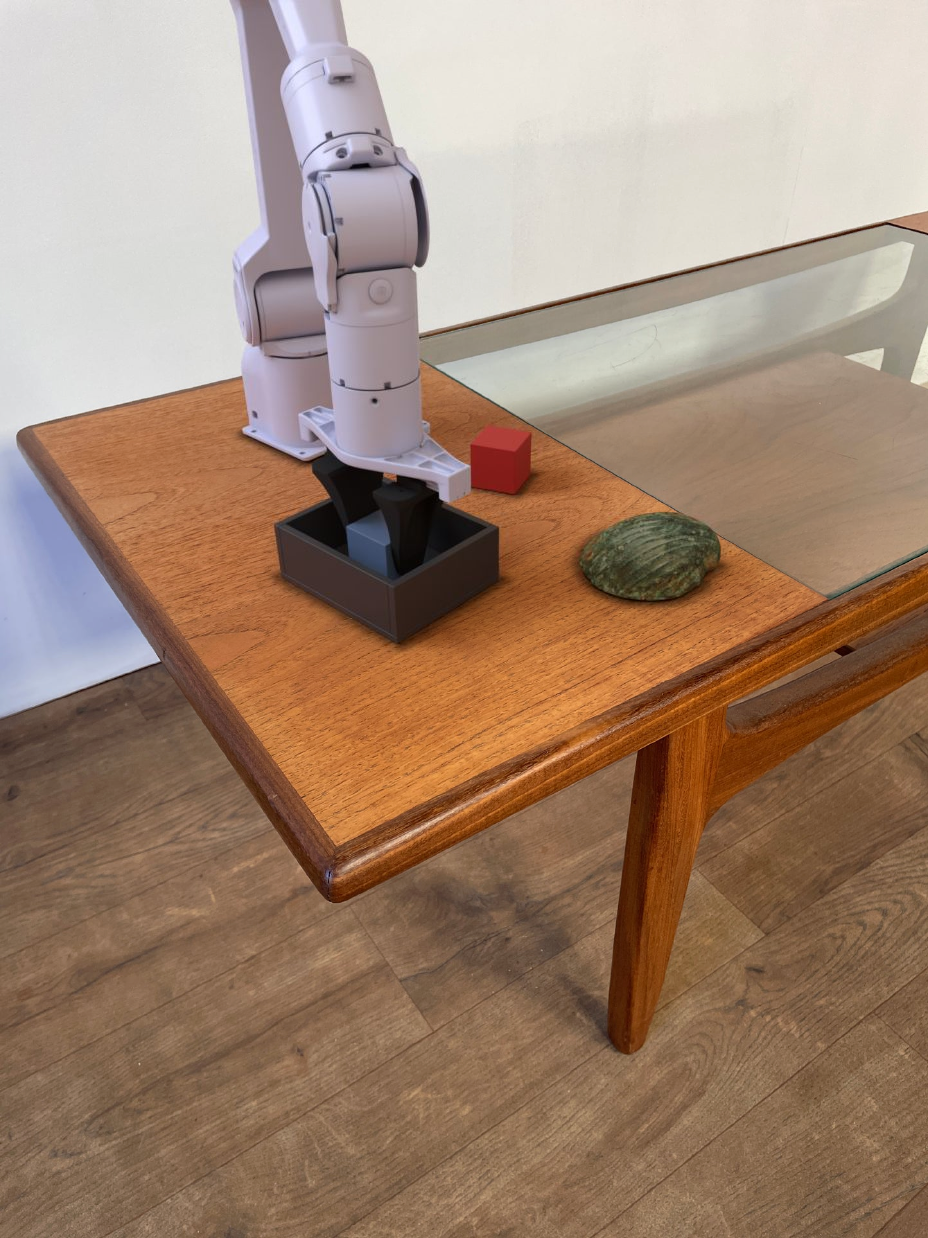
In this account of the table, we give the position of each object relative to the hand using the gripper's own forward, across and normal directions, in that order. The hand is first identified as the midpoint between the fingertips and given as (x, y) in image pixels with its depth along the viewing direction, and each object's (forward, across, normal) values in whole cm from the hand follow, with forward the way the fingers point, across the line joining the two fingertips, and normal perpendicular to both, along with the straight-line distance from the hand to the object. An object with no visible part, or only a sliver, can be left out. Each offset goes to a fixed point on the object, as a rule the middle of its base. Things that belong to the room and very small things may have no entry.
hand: (387, 557), depth 69 cm
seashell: (+2, -13, -14) cm, 19 cm away
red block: (+2, +4, -17) cm, 18 cm away
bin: (+2, 0, 0) cm, 2 cm away
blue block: (+1, 0, 0) cm, 1 cm away
